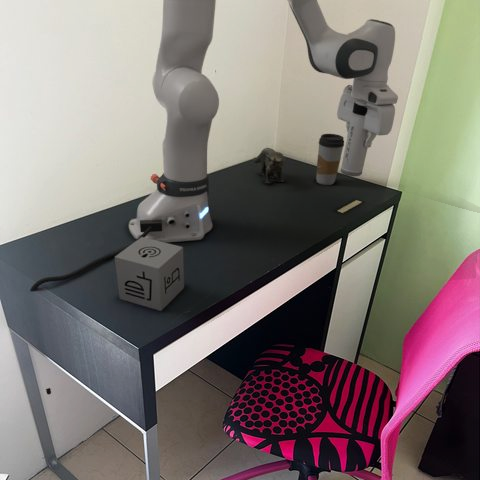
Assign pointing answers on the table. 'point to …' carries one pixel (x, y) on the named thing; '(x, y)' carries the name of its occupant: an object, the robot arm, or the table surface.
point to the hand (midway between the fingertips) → (358, 143)
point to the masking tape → (349, 206)
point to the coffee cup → (329, 158)
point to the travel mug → (355, 143)
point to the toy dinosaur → (270, 164)
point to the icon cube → (150, 273)
